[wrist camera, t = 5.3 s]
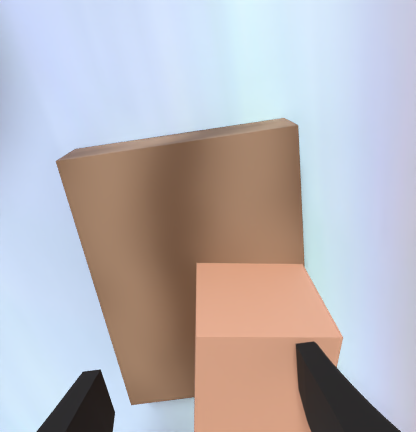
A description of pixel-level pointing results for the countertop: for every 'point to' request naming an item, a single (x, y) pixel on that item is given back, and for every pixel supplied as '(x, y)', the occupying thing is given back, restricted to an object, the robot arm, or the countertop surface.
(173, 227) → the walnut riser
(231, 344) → the terracotta cube
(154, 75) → the countertop surface
